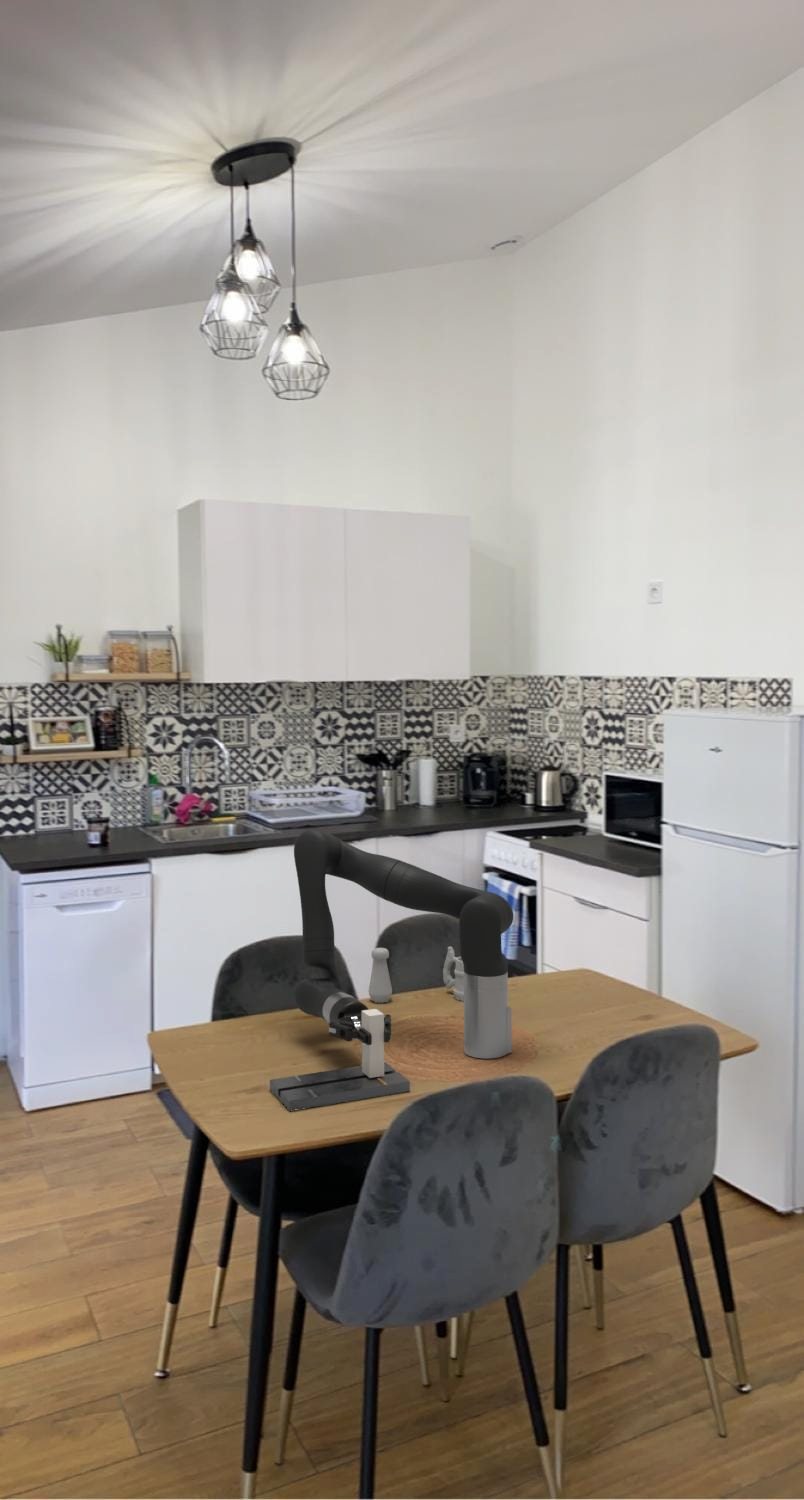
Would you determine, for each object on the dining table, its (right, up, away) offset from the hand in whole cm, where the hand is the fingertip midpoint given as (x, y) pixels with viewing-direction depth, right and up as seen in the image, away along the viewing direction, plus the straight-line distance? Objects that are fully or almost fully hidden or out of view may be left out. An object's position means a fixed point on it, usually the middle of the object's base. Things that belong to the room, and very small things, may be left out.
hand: (378, 1038), depth 212 cm
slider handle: (-1, -9, +3) cm, 9 cm away
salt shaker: (-1, -7, +61) cm, 62 cm away
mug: (+19, -7, +65) cm, 68 cm away
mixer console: (-7, -10, 0) cm, 13 cm away
